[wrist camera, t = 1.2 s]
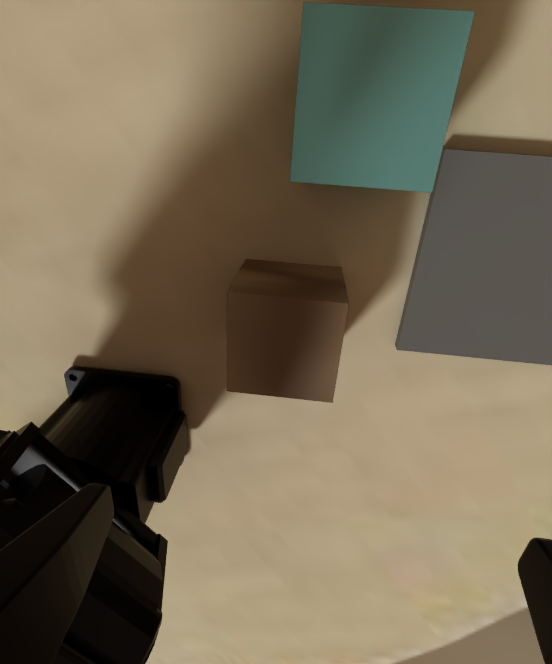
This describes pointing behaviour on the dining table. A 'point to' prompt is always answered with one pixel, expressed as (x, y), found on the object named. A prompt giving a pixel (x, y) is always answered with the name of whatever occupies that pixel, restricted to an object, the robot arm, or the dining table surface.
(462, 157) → the slate tile
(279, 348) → the walnut cube
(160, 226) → the dining table surface
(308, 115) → the teal cube
